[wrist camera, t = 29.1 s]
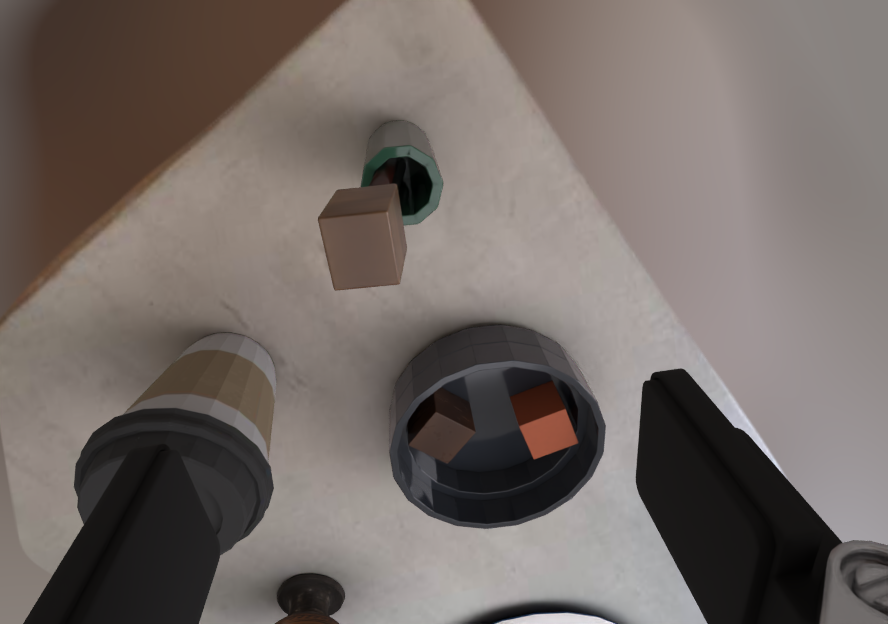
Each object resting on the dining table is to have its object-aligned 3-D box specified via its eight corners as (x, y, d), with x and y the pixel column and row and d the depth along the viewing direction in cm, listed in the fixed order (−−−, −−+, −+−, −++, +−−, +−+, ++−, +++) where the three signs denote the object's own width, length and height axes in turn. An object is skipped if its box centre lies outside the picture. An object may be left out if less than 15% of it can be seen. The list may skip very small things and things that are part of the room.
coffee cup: (128, 371, 44) (14, 521, 31) (214, 279, 41) (130, 401, 28) (244, 445, 48) (189, 603, 35) (330, 367, 45) (305, 508, 32)
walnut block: (470, 402, 48) (476, 432, 44) (443, 432, 49) (447, 464, 45) (432, 382, 46) (435, 411, 43) (406, 414, 48) (407, 445, 44)
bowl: (610, 339, 46) (638, 380, 41) (546, 486, 54) (563, 536, 49) (413, 305, 43) (416, 344, 38) (374, 466, 51) (372, 518, 45)
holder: (437, 127, 37) (450, 154, 29) (423, 191, 39) (431, 234, 31) (373, 111, 36) (369, 135, 28) (362, 178, 38) (355, 218, 30)
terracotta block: (565, 413, 49) (578, 443, 45) (523, 428, 49) (533, 459, 46) (552, 380, 47) (565, 408, 44) (509, 396, 48) (519, 426, 44)
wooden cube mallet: (415, 128, 36) (387, 210, 21) (421, 176, 38) (400, 285, 22) (374, 133, 37) (316, 218, 21) (381, 180, 38) (333, 291, 23)
